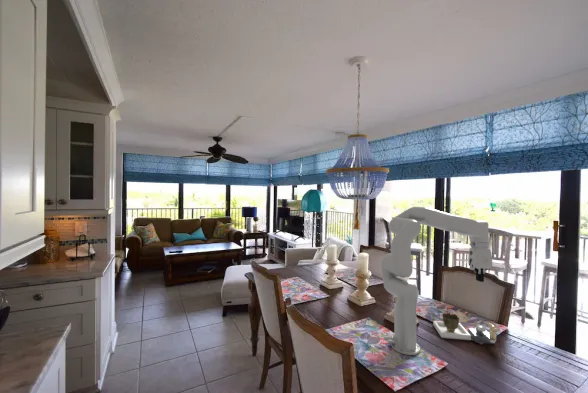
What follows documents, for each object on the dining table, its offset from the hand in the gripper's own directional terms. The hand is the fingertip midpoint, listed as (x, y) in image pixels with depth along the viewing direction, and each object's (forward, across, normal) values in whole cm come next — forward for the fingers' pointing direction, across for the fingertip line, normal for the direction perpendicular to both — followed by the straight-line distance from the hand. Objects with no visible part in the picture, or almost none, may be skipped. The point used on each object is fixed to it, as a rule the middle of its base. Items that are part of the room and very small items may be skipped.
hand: (479, 280), depth 135 cm
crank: (+24, -5, -9) cm, 26 cm away
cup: (+27, -14, +4) cm, 30 cm away
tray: (+27, -14, +4) cm, 31 cm away
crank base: (+27, -4, -4) cm, 28 cm away
